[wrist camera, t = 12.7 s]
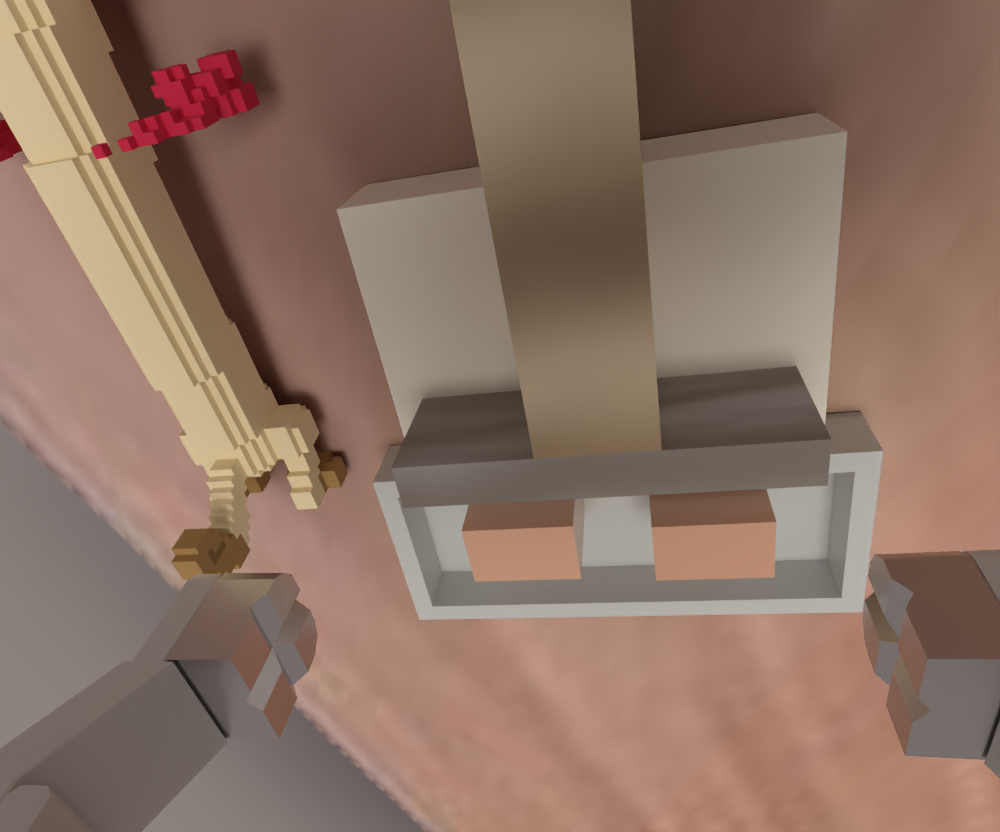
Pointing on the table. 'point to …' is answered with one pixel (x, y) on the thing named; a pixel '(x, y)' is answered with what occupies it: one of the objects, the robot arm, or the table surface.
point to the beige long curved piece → (153, 254)
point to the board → (671, 251)
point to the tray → (630, 557)
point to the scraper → (585, 296)
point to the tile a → (525, 540)
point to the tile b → (713, 535)
